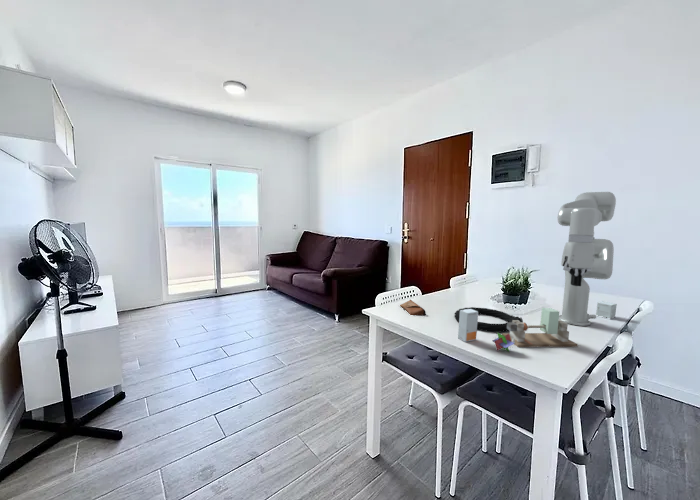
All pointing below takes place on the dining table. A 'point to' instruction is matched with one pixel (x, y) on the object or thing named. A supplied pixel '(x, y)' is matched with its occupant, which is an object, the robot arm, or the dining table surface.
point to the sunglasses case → (413, 308)
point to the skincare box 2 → (606, 309)
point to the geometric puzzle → (503, 341)
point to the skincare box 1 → (467, 325)
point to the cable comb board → (539, 335)
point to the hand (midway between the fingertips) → (575, 285)
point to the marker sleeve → (549, 320)
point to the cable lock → (495, 314)
